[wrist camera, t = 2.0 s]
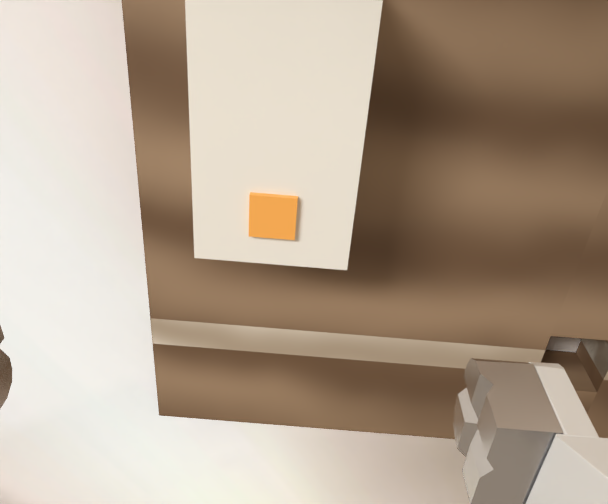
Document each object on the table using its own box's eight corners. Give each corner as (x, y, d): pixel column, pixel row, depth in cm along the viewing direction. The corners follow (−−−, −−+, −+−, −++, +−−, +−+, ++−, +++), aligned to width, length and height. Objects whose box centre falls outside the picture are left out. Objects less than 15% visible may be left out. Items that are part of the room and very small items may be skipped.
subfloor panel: (139, -95, 21) (113, -93, 19) (832, -37, 22) (900, -27, 19) (172, 376, 34) (159, 415, 32) (608, 411, 34) (630, 453, 32)
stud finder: (212, -34, 20) (182, -15, 16) (372, -21, 20) (383, 1, 16) (215, 200, 25) (193, 260, 21) (344, 211, 25) (347, 273, 21)
